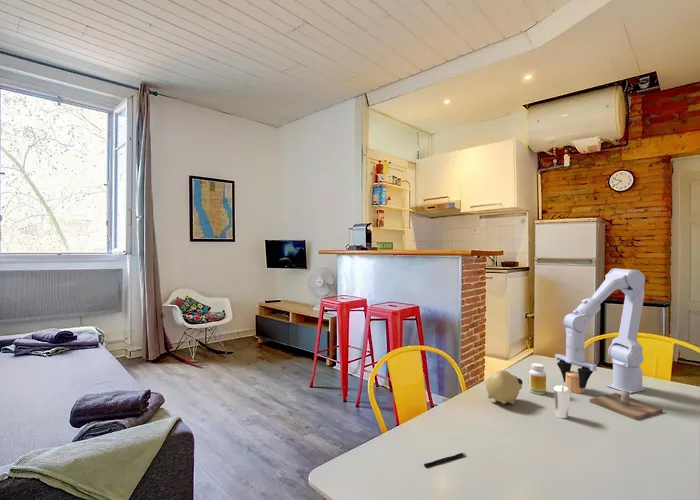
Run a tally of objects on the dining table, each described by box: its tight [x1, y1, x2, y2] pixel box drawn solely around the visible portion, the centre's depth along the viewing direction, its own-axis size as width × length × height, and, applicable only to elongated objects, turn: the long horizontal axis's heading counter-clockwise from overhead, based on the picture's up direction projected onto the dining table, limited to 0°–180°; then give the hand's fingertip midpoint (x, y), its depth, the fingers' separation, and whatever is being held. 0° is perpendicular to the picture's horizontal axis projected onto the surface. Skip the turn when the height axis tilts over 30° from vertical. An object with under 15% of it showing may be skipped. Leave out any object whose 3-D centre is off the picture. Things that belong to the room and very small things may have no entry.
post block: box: [589, 390, 663, 420], centre depth 123 cm, size 14×14×5 cm
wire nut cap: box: [564, 370, 585, 394], centre depth 137 cm, size 6×6×6 cm
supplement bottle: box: [528, 362, 547, 395], centre depth 135 cm, size 5×5×10 cm
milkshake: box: [553, 384, 572, 419], centre depth 115 cm, size 5×5×10 cm
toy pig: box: [485, 370, 524, 405], centre depth 126 cm, size 10×12×11 cm
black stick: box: [423, 452, 467, 469], centre depth 91 cm, size 12×1×1 cm, turn 116°
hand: (574, 384), depth 137 cm, fingers closed on wire nut cap, 6 cm apart
